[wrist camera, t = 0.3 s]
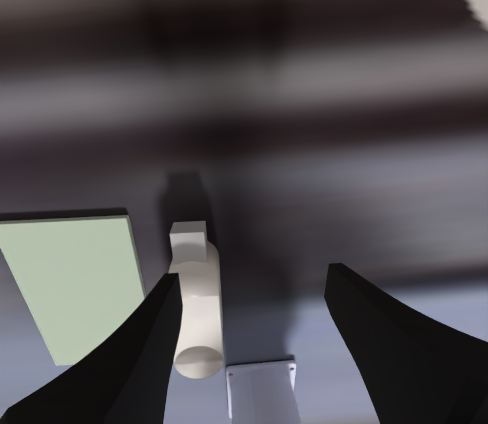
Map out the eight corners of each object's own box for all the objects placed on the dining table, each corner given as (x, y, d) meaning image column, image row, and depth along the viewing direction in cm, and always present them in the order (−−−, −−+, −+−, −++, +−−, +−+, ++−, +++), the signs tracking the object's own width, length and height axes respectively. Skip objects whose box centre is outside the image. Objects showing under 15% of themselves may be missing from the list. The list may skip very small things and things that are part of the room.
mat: (158, 351, 27) (157, 356, 27) (59, 360, 27) (56, 365, 26) (128, 215, 21) (126, 218, 20) (-5, 221, 20) (-11, 224, 19)
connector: (223, 328, 27) (224, 376, 22) (184, 331, 27) (177, 380, 22) (216, 211, 21) (215, 243, 17) (166, 214, 21) (152, 246, 17)
